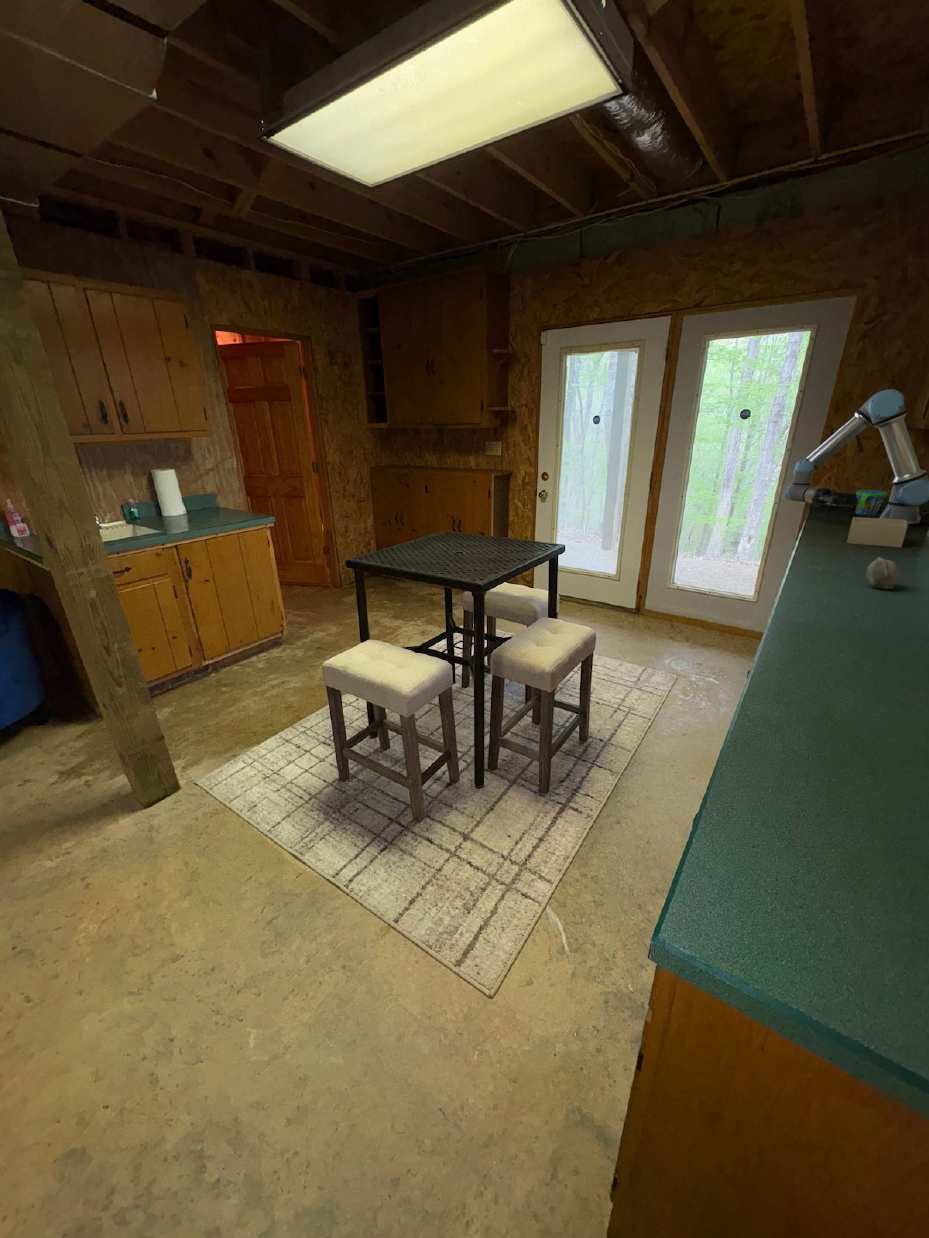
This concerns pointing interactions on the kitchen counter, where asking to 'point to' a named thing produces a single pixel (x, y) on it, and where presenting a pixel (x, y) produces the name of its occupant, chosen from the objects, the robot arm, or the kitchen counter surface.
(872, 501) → the snack cup
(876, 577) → the garlic bulb
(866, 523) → the tan rectangular box
